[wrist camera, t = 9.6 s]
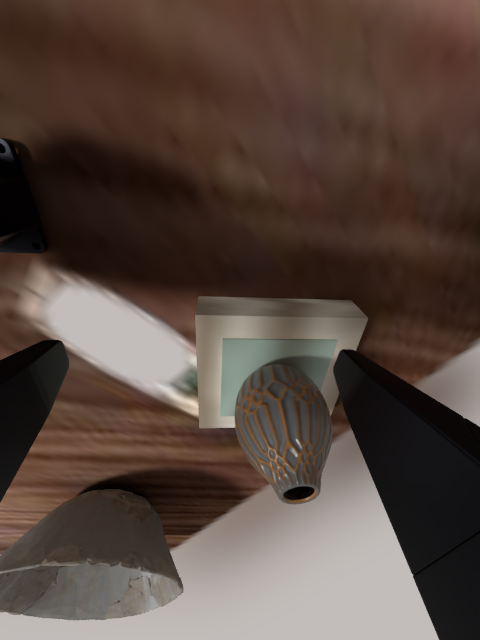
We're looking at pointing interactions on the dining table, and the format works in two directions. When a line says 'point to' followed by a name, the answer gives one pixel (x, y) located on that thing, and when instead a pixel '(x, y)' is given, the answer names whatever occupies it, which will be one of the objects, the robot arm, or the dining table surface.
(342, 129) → the dining table surface
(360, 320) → the plinth
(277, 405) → the vase
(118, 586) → the ceramic bowl
